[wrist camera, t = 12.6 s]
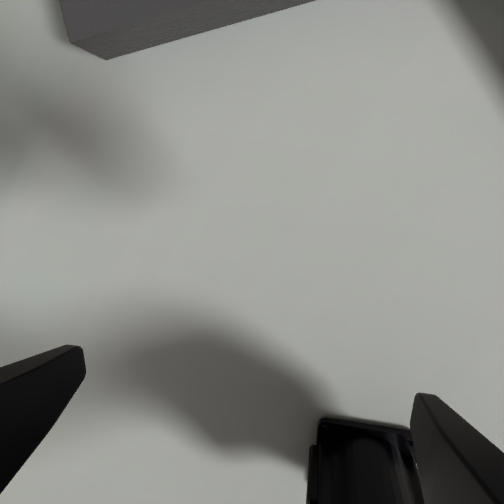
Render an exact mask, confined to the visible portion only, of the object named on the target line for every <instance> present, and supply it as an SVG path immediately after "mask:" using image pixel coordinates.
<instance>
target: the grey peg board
mask: <svg viewBox="0 0 504 504" xmlns="http://www.w3.org/2000/svg"><path fill="white" fill-rule="evenodd" d="M59 1H60V5H61V9H62V13H63V17H64V21H65V25H66V29H67V33H68V37H69V41H70V43H72V44H74V45H76V46H78V47H80V48H82V49H84V50H86V51H88V52H90V53H92V54H95V55H97V56H99V57H101V58H103V59H105V60H108V59H111V58H115V57H118V56H122V55H125V54H129V53H132V52H136V51H139V50H143V49H146V48H150V47H153V46H157V45H160V44H164V43H167V42H171V41H174V40H178V39H181V38H185V37H188V36H192V35H195V34H199V33H202V32H206V31H209V30H213V29H216V28H220V27H224V26H227V25H231V24H234V23H238V22H241V21H245V20H248V19H252V18H255V17H259V16H262V15H266V14H269V13H273V12H276V11H280V10H283V9H287V8H290V7H294V6H297V5H301V4H304V3H308V2H311V1H315V0H59Z"/></svg>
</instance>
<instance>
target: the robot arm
mask: <svg viewBox="0 0 504 504" xmlns="http://www.w3.org/2000/svg"><path fill="white" fill-rule="evenodd" d="M85 375H86V366H85V360H84V354H83V349H82V348H81V347H80V346H75V345H64V346H61V347H58V348H55V349H52V350H49V351H47V352H44V353H41V354H38V355H35V356H32V357H29V358H26V359H23V360H21V361H18V362H15V363H12V364H9V365H6V366H3V367H0V494H1V493H2V491H3V490H4V489H5V488H6V486H7V485H8V484H9V482H10V481H11V480H12V479H13V477H14V476H15V475H16V473H17V472H18V471H19V470H20V468H21V467H22V466H23V465H24V463H25V462H26V461H27V459H28V458H29V457H30V456H31V454H32V453H33V452H34V450H35V449H36V448H37V447H38V445H39V444H40V443H41V441H42V440H43V439H44V438H45V436H46V435H47V434H48V432H49V431H50V430H51V428H52V427H53V425H54V424H55V423H56V421H57V420H58V418H59V417H60V415H61V413H62V412H63V410H64V409H65V407H66V406H67V404H68V403H69V401H70V400H71V398H72V397H73V395H74V394H75V392H76V391H77V389H78V388H79V386H80V384H81V383H82V381H83V380H84V378H85ZM323 425H327V426H328V427H324V426H323ZM410 430H411V432H410V431H404V430H398V429H392V428H385V427H379V426H373V425H367V424H361V423H355V422H348V421H342V420H336V419H330V418H321V419H320V420H319V421H318V430H317V443H316V445H311V446H310V448H309V462H308V477H307V495H306V504H504V453H503V452H502V451H501V450H500V449H499V448H497V447H496V446H495V445H494V444H493V443H492V442H490V441H489V440H488V439H487V438H486V437H485V436H483V435H482V434H481V433H480V432H479V431H477V430H476V429H475V428H474V427H473V426H472V425H470V424H469V423H468V422H467V421H466V420H465V419H463V418H462V417H461V416H460V415H459V414H457V413H456V412H455V411H454V410H453V409H452V408H450V407H449V406H448V405H447V404H446V403H445V402H443V401H442V400H441V399H440V398H439V397H437V396H436V395H433V394H426V393H417V394H416V395H415V398H414V403H413V409H412V414H411V419H410ZM410 439H412V441H408V440H410ZM416 463H417V465H416ZM417 468H418V469H417Z"/></svg>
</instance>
